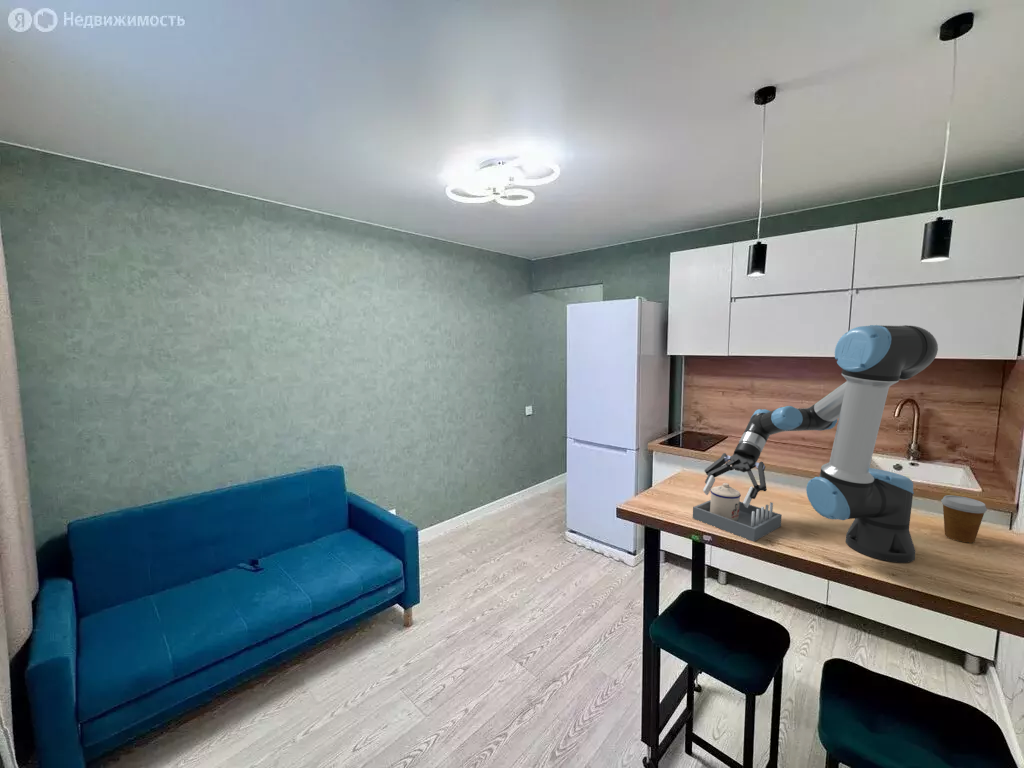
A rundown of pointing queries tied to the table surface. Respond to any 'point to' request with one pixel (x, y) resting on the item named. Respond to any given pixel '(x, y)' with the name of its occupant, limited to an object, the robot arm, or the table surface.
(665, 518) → the table surface
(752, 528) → the dish rack
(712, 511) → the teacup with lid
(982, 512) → the disposable coffee cup
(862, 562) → the table surface
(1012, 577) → the table surface
